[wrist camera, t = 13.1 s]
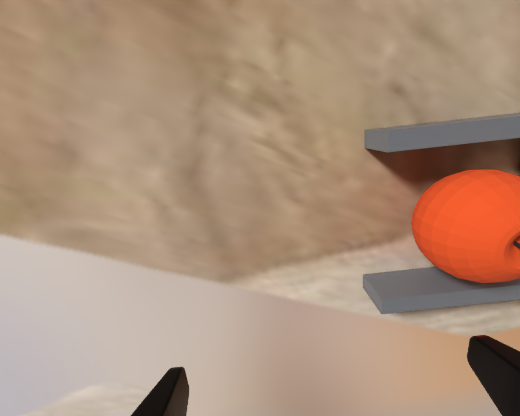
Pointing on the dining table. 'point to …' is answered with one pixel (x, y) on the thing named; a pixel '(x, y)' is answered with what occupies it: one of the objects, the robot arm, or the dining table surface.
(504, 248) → the clementine
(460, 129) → the grey shallow tray
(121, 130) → the dining table surface
